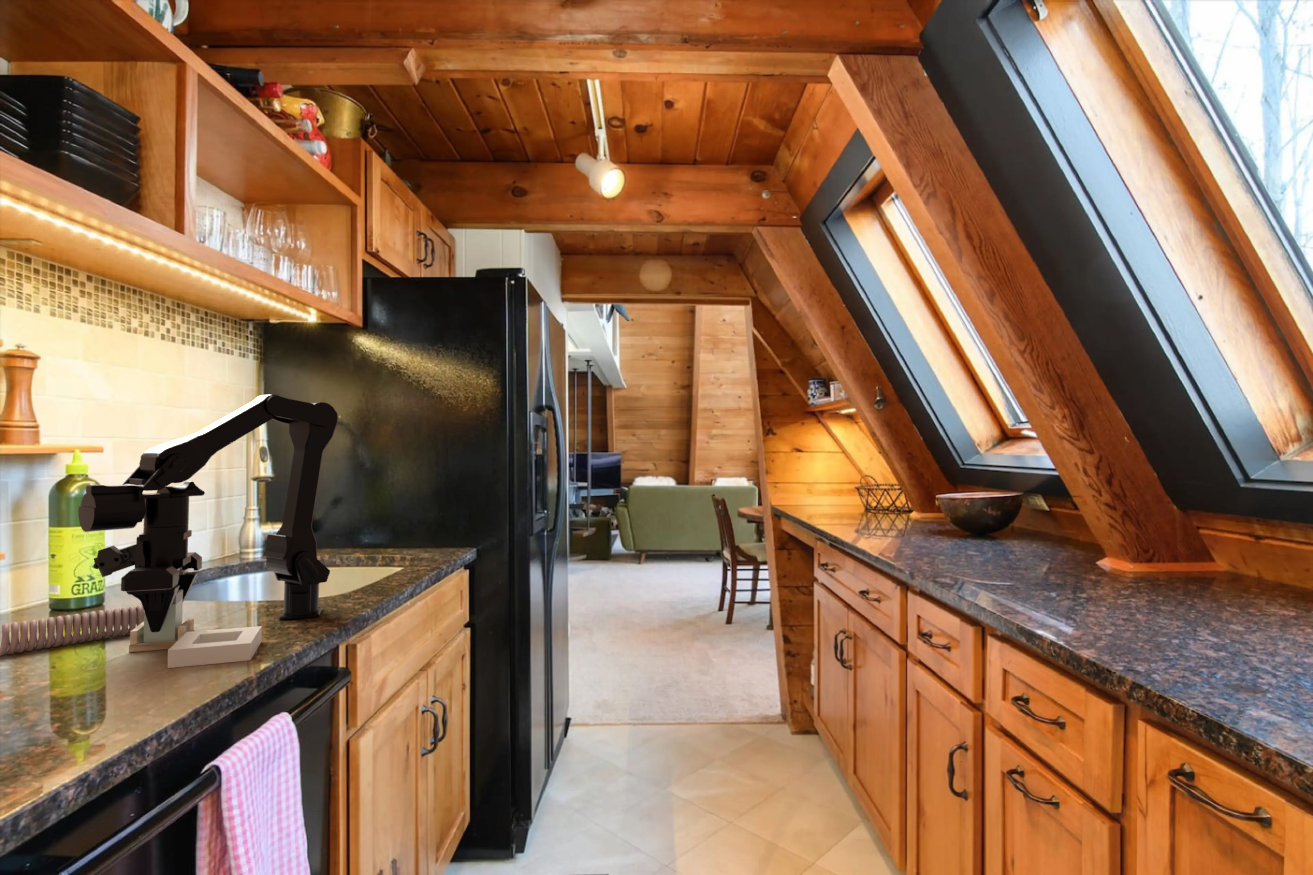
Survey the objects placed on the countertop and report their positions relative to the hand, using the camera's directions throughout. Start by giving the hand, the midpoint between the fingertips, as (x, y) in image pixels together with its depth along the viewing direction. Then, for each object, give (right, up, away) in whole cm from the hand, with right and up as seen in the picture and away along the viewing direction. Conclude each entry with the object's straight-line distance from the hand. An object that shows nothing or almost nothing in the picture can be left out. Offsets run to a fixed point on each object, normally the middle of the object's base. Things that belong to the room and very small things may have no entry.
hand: (163, 625), depth 104 cm
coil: (-14, -3, 0) cm, 14 cm away
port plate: (+12, -3, -5) cm, 13 cm away
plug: (0, -3, 0) cm, 3 cm away
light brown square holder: (0, -3, 0) cm, 3 cm away
